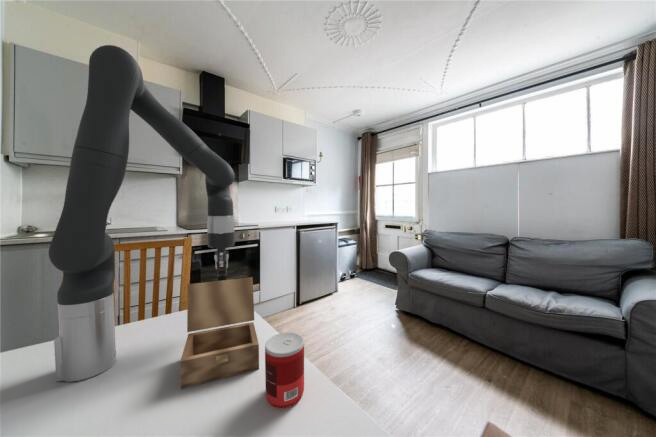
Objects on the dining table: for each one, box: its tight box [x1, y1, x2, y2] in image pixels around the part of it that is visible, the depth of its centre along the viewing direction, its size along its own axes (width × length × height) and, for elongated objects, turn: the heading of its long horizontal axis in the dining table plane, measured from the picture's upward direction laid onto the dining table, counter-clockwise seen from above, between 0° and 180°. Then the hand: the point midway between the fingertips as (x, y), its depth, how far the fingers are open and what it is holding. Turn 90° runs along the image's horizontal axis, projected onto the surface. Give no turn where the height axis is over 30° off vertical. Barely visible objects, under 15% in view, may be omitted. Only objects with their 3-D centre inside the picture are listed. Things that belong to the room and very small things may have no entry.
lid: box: [186, 276, 255, 333], centre depth 66 cm, size 17×12×1 cm
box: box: [179, 321, 260, 390], centre depth 59 cm, size 16×12×6 cm
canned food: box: [264, 332, 305, 409], centre depth 49 cm, size 8×8×11 cm
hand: (222, 287), depth 73 cm, fingers closed
